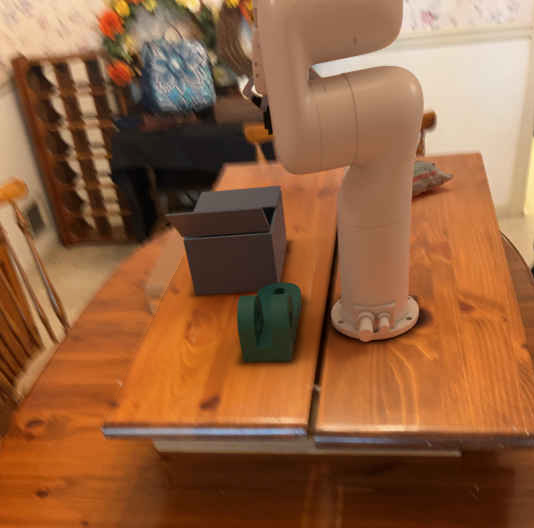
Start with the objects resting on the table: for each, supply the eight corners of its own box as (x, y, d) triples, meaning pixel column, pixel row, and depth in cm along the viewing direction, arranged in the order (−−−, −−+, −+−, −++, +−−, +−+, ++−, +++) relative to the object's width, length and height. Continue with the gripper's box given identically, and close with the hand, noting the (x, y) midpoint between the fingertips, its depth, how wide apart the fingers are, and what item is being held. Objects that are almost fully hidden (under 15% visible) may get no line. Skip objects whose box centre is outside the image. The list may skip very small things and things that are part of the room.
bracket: (291, 361, 88) (285, 310, 83) (243, 362, 90) (234, 312, 84) (304, 294, 101) (299, 246, 95) (261, 296, 102) (255, 249, 97)
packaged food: (452, 190, 122) (454, 162, 118) (401, 208, 119) (401, 181, 115) (423, 178, 128) (424, 152, 124) (373, 196, 125) (373, 169, 121)
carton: (278, 290, 103) (271, 229, 96) (195, 295, 105) (182, 235, 98) (287, 242, 115) (281, 185, 108) (212, 248, 117) (201, 192, 110)
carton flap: (270, 228, 96) (270, 230, 96) (182, 235, 98) (182, 237, 98) (261, 206, 88) (261, 208, 88) (165, 214, 90) (165, 216, 90)
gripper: (326, 6, 112) (332, 120, 124) (230, 20, 115) (245, 130, 127) (324, 14, 106) (331, 132, 119) (224, 28, 109) (240, 142, 122)
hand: (287, 130), depth 123 cm, fingers closed on lemon, 5 cm apart
